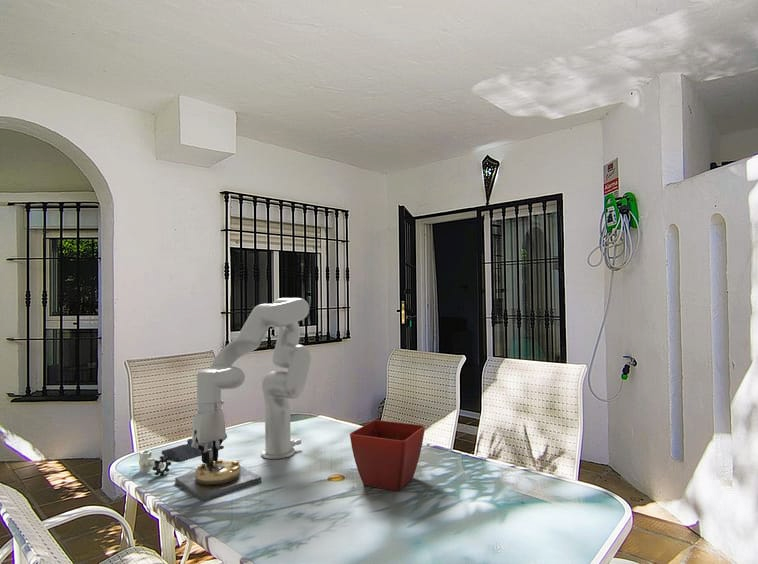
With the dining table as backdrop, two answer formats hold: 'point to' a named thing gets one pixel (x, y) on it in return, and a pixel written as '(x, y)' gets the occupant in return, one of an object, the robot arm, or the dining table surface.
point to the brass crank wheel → (217, 471)
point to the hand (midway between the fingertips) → (210, 461)
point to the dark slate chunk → (185, 451)
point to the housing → (212, 491)
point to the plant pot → (387, 453)
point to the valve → (152, 463)
